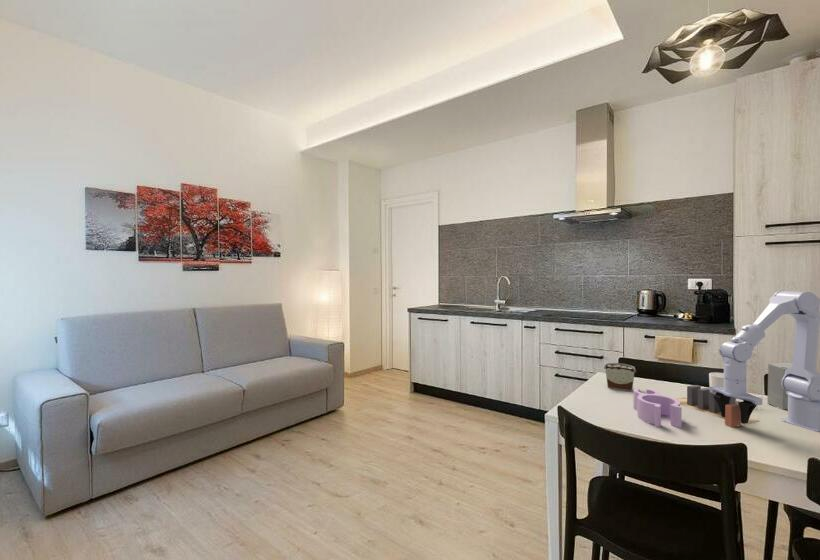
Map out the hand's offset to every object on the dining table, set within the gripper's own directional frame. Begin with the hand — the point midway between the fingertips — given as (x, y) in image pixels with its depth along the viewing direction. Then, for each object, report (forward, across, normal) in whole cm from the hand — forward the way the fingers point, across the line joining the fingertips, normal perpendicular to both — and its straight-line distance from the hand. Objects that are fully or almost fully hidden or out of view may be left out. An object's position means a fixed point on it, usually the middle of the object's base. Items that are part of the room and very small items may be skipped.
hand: (734, 419), depth 129 cm
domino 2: (+2, -14, +6) cm, 16 cm away
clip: (+2, -15, -16) cm, 23 cm away
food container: (+2, -45, 0) cm, 45 cm away
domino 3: (+2, -10, +6) cm, 12 cm away
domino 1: (+2, -18, +6) cm, 19 cm away
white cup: (+2, -18, +22) cm, 28 cm away
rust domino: (+2, 0, -1) cm, 2 cm away
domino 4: (+2, -6, +6) cm, 9 cm away
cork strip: (+2, -12, +6) cm, 14 cm away
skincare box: (+2, -5, +36) cm, 36 cm away
